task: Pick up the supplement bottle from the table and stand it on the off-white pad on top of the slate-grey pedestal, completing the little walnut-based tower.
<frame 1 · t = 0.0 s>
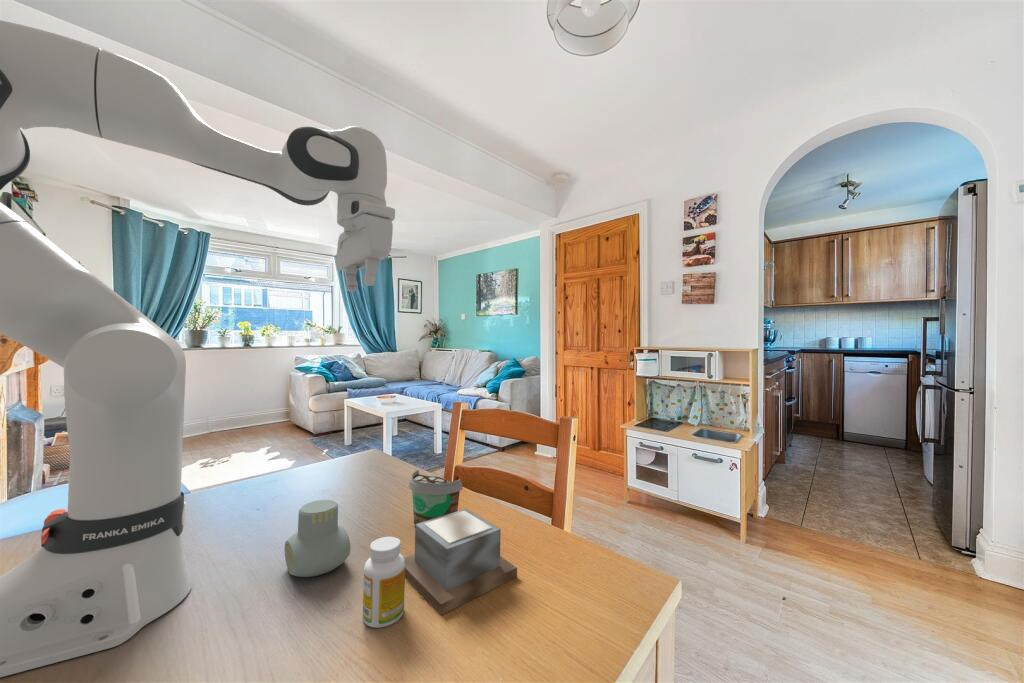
hand: (360, 288, 73), 48 cm above the table, tool pointing down, fingers open, 8 cm apart
food container: (428, 528, 77), on the table
supplement bottle: (383, 616, 52), on the table
air freshener: (316, 568, 63), on the table
pedestal: (456, 573, 62), on the table
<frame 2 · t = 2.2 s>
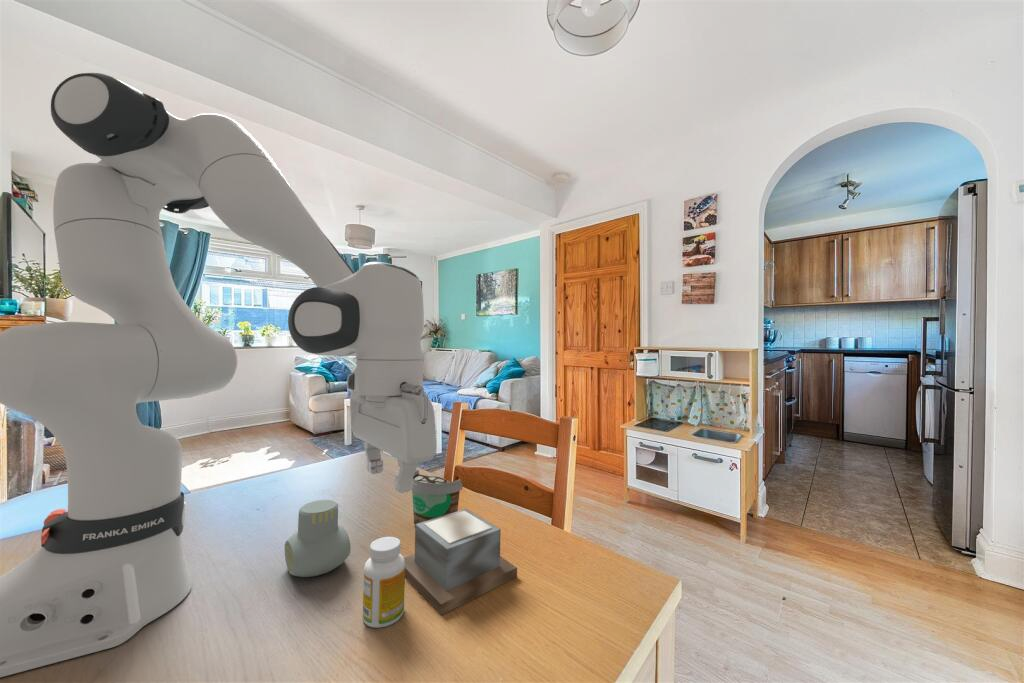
hand: (388, 481, 52), 18 cm above the table, tool pointing down, fingers open, 8 cm apart
nothing on the table moved.
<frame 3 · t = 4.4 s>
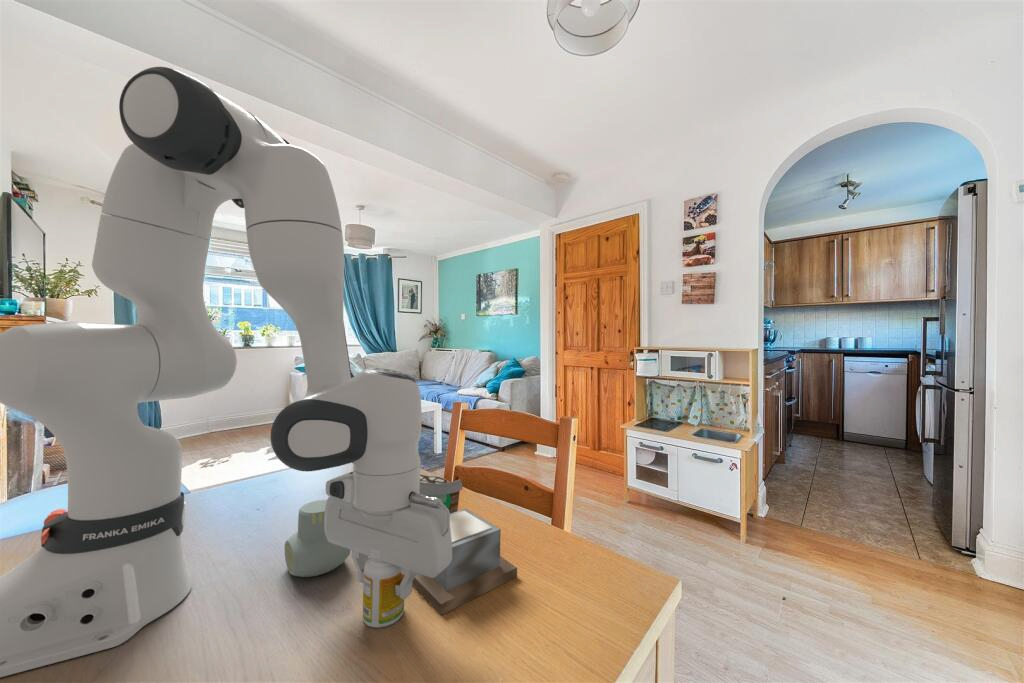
hand: (384, 588, 52), 4 cm above the table, tool pointing down, fingers closed on supplement bottle, 5 cm apart
supplement bottle: (383, 616, 52), on the table, touching gripper
everything else where it was.
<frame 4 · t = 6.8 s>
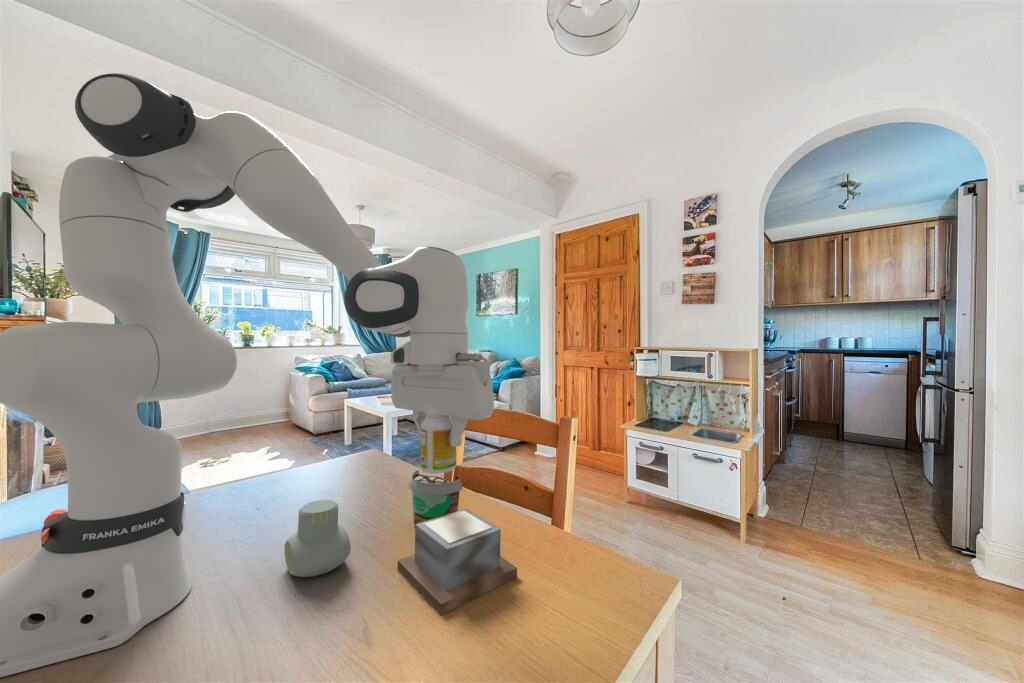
hand: (438, 442, 59), 22 cm above the table, tool pointing down, fingers closed on supplement bottle, 5 cm apart
supplement bottle: (438, 470, 58), point 18 cm above the table, touching gripper
everything else where it was.
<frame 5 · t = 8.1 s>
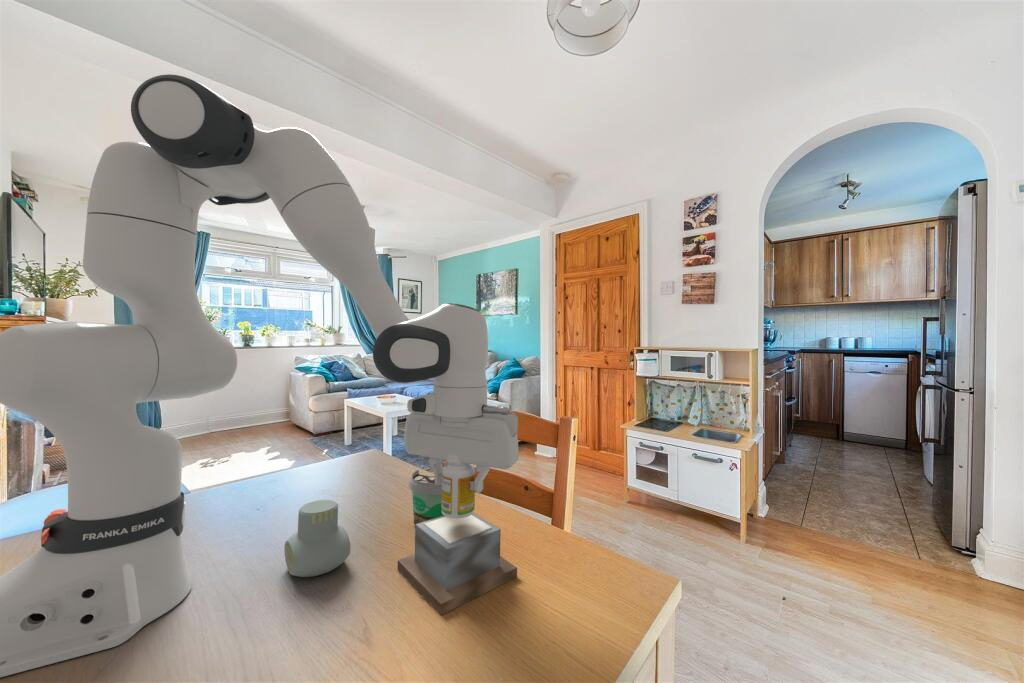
hand: (458, 487, 62), 14 cm above the table, tool pointing down, fingers closed on supplement bottle, 5 cm apart
supplement bottle: (458, 513, 62), point 10 cm above the table, touching gripper
everything else where it was.
when the fingers open (13 cm above the table, at t = 9.2 s): supplement bottle stays where it is, resting on pedestal.
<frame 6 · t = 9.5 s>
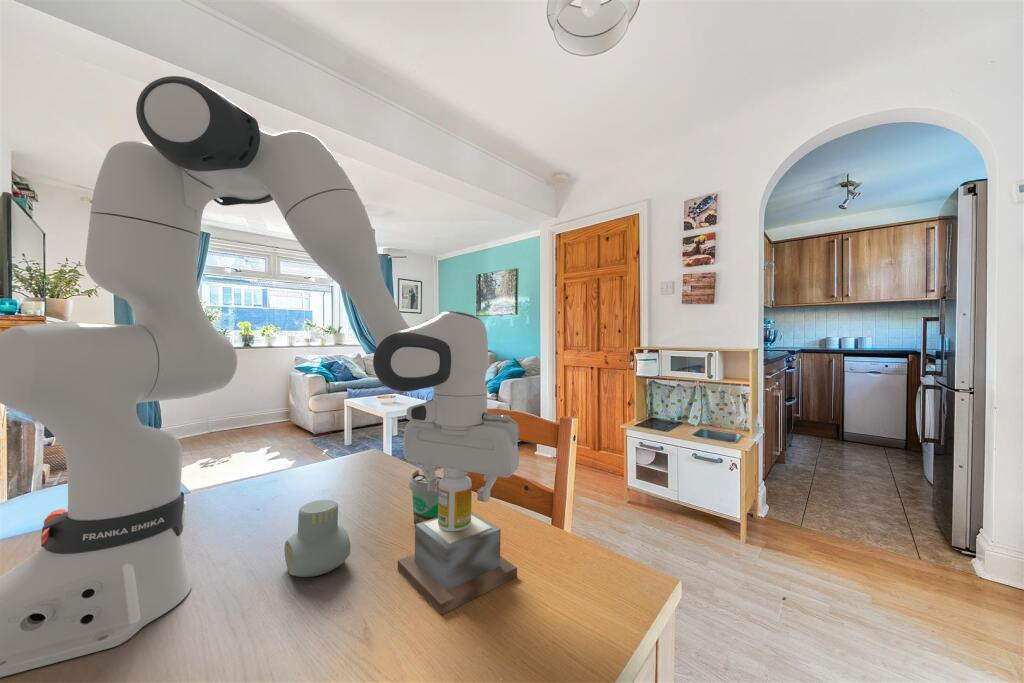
hand: (458, 495, 62), 13 cm above the table, tool pointing down, fingers open, 8 cm apart
supplement bottle: (454, 526, 62), point 8 cm above the table, touching pedestal
everything else where it was.
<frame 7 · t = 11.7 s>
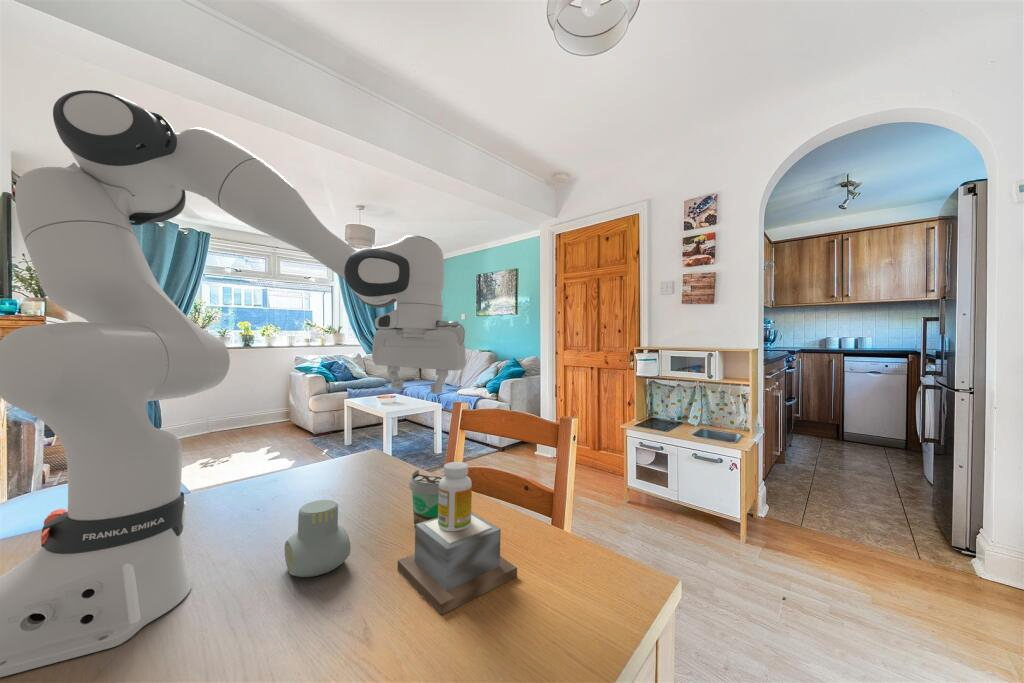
hand: (416, 391, 74), 28 cm above the table, tool pointing down, fingers open, 8 cm apart
nothing on the table moved.
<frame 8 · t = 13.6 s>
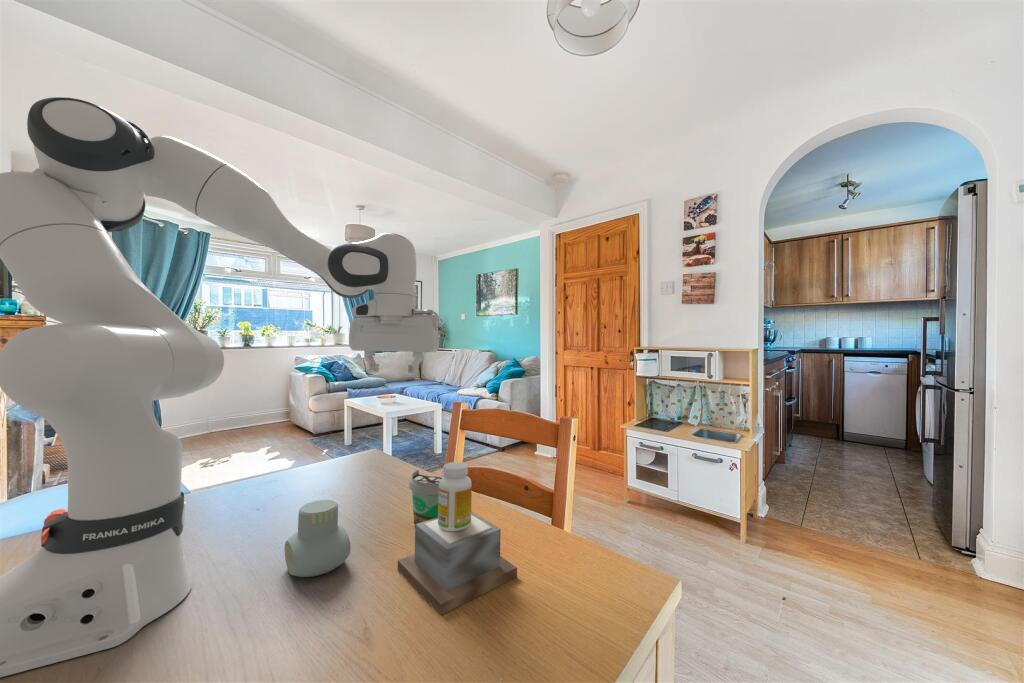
hand: (393, 372, 83), 31 cm above the table, tool pointing down, fingers open, 8 cm apart
nothing on the table moved.
at the end: supplement bottle 0.6 cm off-centre on the pedestal, point 7.5 cm above the pedestal's base; supplement bottle tilted 0°; the gripper is holding nothing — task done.
